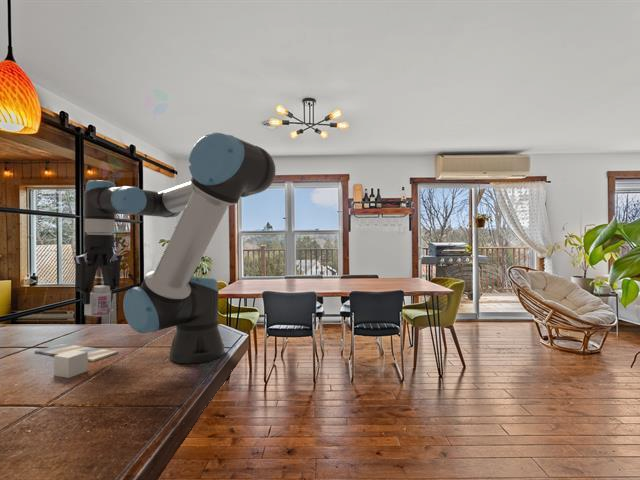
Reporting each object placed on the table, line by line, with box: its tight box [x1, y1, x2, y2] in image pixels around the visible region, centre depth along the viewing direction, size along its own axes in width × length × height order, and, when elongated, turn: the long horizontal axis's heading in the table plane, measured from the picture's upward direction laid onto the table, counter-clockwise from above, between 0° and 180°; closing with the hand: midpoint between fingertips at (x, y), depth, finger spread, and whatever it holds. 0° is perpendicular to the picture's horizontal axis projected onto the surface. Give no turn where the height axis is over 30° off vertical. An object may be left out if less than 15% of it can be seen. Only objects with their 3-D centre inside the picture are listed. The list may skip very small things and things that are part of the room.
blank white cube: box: [53, 350, 89, 379], centre depth 90 cm, size 5×5×5 cm
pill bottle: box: [93, 284, 112, 317], centre depth 104 cm, size 5×5×8 cm
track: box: [34, 343, 119, 362], centre depth 107 cm, size 24×8×1 cm, turn 71°
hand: (97, 313), depth 104 cm, fingers closed on pill bottle, 5 cm apart
